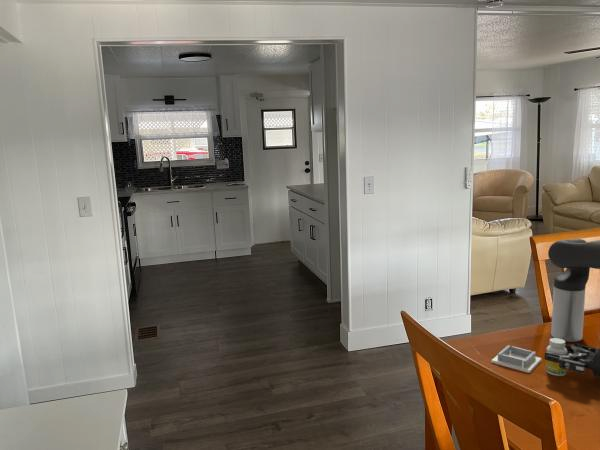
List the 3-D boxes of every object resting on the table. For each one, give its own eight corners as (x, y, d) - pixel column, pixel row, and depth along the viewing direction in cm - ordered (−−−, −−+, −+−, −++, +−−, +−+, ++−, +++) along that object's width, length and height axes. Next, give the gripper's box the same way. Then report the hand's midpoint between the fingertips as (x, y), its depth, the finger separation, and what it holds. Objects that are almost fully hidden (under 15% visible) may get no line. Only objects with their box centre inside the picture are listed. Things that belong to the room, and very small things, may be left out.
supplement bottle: (552, 366, 146) (553, 335, 144) (570, 372, 142) (572, 341, 140) (541, 371, 143) (543, 339, 142) (559, 378, 139) (561, 345, 137)
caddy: (504, 351, 157) (504, 342, 157) (541, 360, 150) (541, 351, 149) (491, 362, 150) (491, 353, 149) (529, 373, 142) (529, 363, 142)
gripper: (622, 344, 136) (558, 330, 147) (610, 362, 126) (542, 346, 137) (620, 370, 137) (556, 354, 148) (608, 390, 127) (541, 371, 138)
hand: (549, 350), depth 143 cm, fingers open, 8 cm apart
